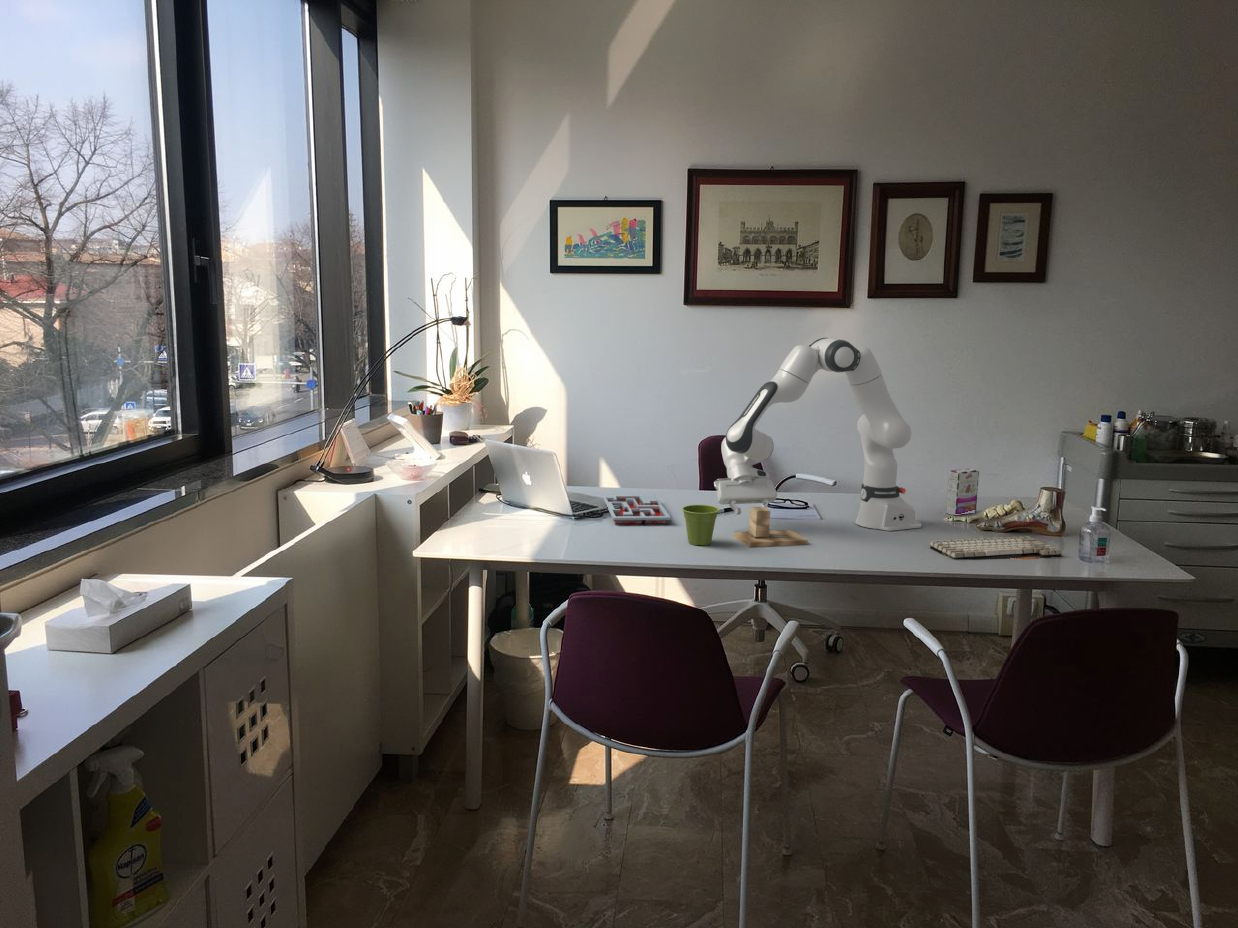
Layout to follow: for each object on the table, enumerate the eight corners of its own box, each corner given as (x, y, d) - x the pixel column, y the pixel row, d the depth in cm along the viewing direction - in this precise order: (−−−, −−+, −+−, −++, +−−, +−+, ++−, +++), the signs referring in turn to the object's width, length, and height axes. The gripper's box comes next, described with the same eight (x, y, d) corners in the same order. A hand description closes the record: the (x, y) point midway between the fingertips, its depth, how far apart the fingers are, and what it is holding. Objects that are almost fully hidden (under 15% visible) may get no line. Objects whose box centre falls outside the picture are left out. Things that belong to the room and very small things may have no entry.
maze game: (670, 526, 330) (670, 517, 329) (613, 526, 327) (613, 517, 327) (654, 503, 364) (655, 495, 363) (602, 503, 361) (603, 495, 361)
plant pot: (689, 536, 316) (690, 502, 314) (723, 541, 311) (725, 507, 308) (674, 544, 306) (675, 509, 303) (709, 550, 300) (710, 514, 298)
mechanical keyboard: (958, 564, 293) (959, 553, 293) (924, 548, 312) (925, 538, 311) (1065, 559, 302) (1067, 549, 302) (1026, 544, 321) (1027, 534, 320)
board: (790, 534, 322) (790, 529, 322) (807, 544, 310) (807, 539, 309) (734, 536, 317) (734, 532, 317) (749, 547, 304) (749, 542, 304)
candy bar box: (965, 510, 364) (969, 467, 361) (976, 513, 360) (980, 470, 357) (944, 513, 358) (948, 469, 355) (955, 516, 354) (959, 472, 351)
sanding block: (762, 533, 315) (763, 506, 314) (768, 537, 310) (770, 510, 309) (748, 534, 314) (750, 507, 313) (755, 538, 309) (756, 510, 307)
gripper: (715, 473, 320) (725, 509, 312) (772, 472, 325) (783, 507, 317) (710, 484, 325) (719, 519, 317) (766, 482, 330) (776, 517, 322)
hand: (751, 513), depth 317 cm, fingers open, 8 cm apart
